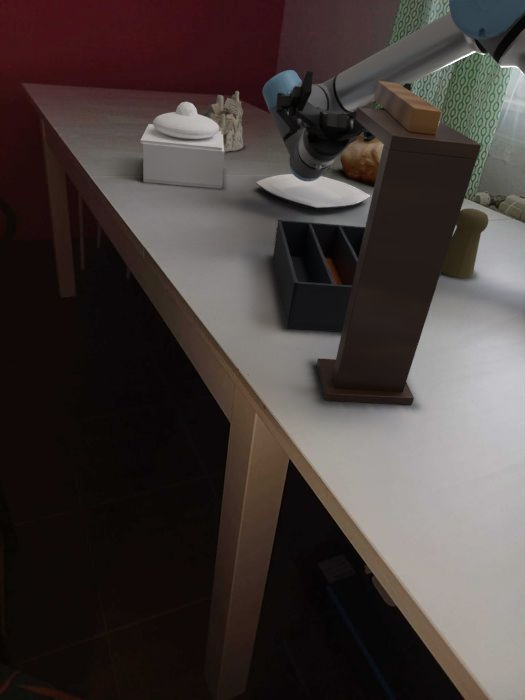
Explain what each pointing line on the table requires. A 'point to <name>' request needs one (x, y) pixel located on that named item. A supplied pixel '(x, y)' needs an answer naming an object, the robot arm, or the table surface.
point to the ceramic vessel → (362, 160)
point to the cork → (465, 243)
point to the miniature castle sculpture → (228, 120)
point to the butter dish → (183, 149)
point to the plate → (313, 192)
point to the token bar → (408, 108)
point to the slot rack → (316, 272)
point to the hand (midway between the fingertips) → (359, 87)
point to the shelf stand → (398, 258)
